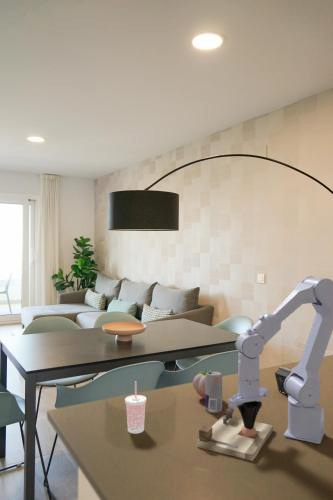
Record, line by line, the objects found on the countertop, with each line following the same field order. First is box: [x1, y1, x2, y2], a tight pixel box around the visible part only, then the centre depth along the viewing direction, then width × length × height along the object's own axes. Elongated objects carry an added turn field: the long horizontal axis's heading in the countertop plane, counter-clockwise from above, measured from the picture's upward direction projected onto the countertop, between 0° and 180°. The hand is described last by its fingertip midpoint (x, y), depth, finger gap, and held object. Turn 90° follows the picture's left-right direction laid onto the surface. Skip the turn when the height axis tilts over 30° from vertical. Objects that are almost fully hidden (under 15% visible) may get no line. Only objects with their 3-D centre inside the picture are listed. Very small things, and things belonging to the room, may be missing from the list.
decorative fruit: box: [192, 371, 207, 400], centre depth 141 cm, size 9×8×10 cm
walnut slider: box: [198, 425, 212, 441], centre depth 108 cm, size 2×3×2 cm
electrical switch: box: [274, 366, 292, 396], centre depth 145 cm, size 9×5×9 cm, turn 30°
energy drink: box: [204, 370, 223, 414], centre depth 132 cm, size 5×5×12 cm
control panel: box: [196, 414, 274, 462], centre depth 112 cm, size 15×19×3 cm
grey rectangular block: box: [225, 408, 235, 420], centre depth 120 cm, size 1×3×3 cm, turn 151°
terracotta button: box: [241, 426, 257, 439], centre depth 112 cm, size 4×4×3 cm
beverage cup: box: [124, 380, 147, 434], centre depth 117 cm, size 6×6×14 cm
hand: (248, 427), depth 112 cm, fingers closed, pressing on terracotta button
